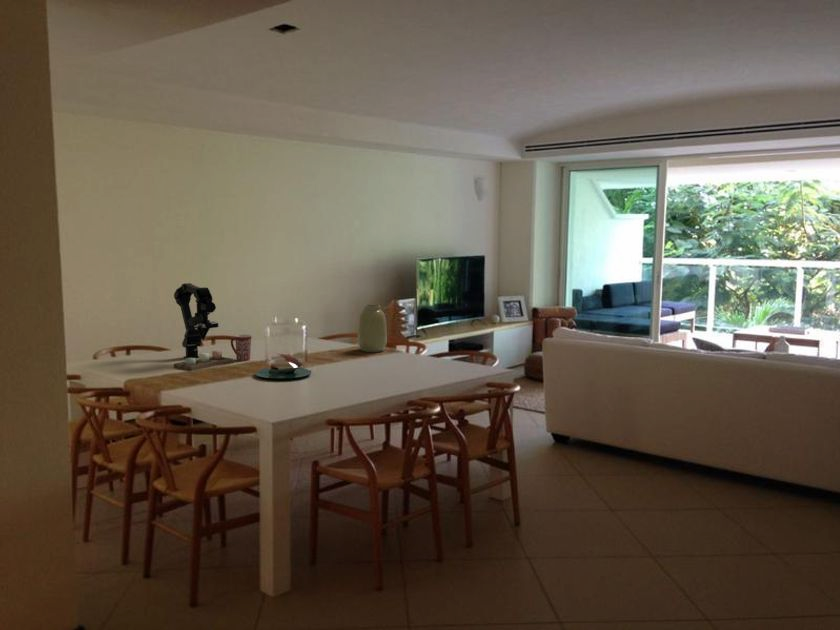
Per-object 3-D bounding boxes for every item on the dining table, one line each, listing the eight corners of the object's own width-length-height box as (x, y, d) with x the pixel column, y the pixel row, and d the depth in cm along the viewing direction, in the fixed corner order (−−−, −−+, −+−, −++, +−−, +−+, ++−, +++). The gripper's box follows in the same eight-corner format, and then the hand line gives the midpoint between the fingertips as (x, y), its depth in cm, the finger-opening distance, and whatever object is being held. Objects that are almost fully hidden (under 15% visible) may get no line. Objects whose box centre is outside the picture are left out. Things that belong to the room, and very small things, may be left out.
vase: (385, 352, 433) (386, 307, 430) (356, 352, 433) (356, 307, 430) (387, 348, 450) (387, 304, 447) (359, 347, 451) (359, 303, 447)
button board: (173, 367, 381) (173, 363, 381) (215, 359, 405) (215, 355, 405) (192, 370, 374) (192, 366, 374) (233, 362, 397) (233, 358, 397)
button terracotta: (210, 358, 396) (210, 351, 395) (217, 357, 400) (217, 350, 400) (216, 359, 393) (216, 352, 393) (223, 358, 397) (223, 351, 397)
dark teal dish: (312, 381, 354) (312, 358, 353) (252, 382, 350) (252, 359, 348) (311, 369, 382) (311, 348, 380) (256, 370, 377) (255, 349, 376)
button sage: (183, 366, 381) (183, 358, 380) (191, 364, 385) (191, 357, 385) (190, 367, 378) (189, 359, 378) (197, 366, 382) (197, 358, 382)
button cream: (197, 361, 388) (197, 353, 388) (204, 359, 392) (204, 352, 392) (203, 362, 386) (203, 354, 385) (211, 361, 390) (210, 353, 389)
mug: (255, 359, 407) (255, 335, 406) (244, 361, 399) (244, 337, 398) (237, 357, 413) (237, 333, 411) (226, 359, 405) (226, 335, 403)
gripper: (178, 311, 394) (179, 339, 396) (202, 313, 384) (203, 343, 386) (195, 309, 403) (195, 337, 405) (218, 311, 393) (219, 340, 395)
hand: (202, 339), depth 397 cm, fingers closed
